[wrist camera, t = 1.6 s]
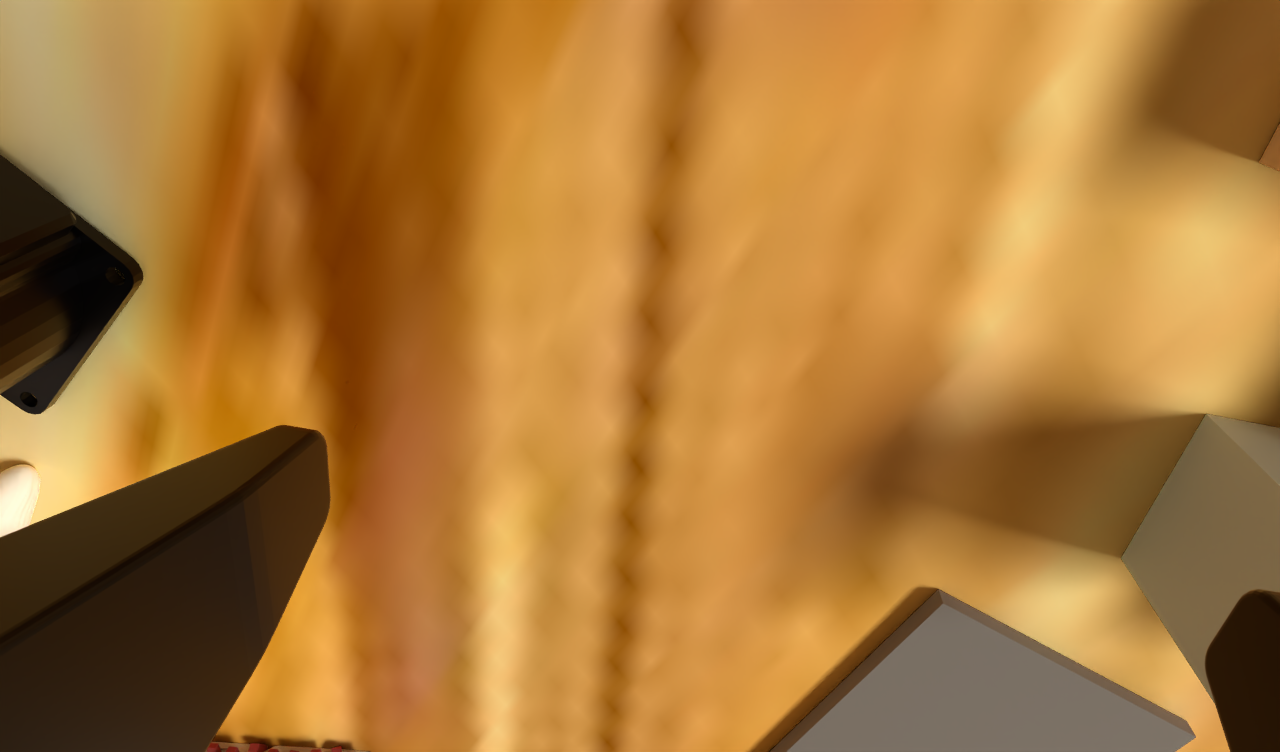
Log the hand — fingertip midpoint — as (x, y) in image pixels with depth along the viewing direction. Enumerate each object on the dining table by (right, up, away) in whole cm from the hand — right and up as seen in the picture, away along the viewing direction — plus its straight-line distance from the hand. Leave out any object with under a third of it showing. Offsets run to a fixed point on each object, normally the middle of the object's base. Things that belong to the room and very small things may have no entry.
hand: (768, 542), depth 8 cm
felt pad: (+10, -11, +20) cm, 25 cm away
